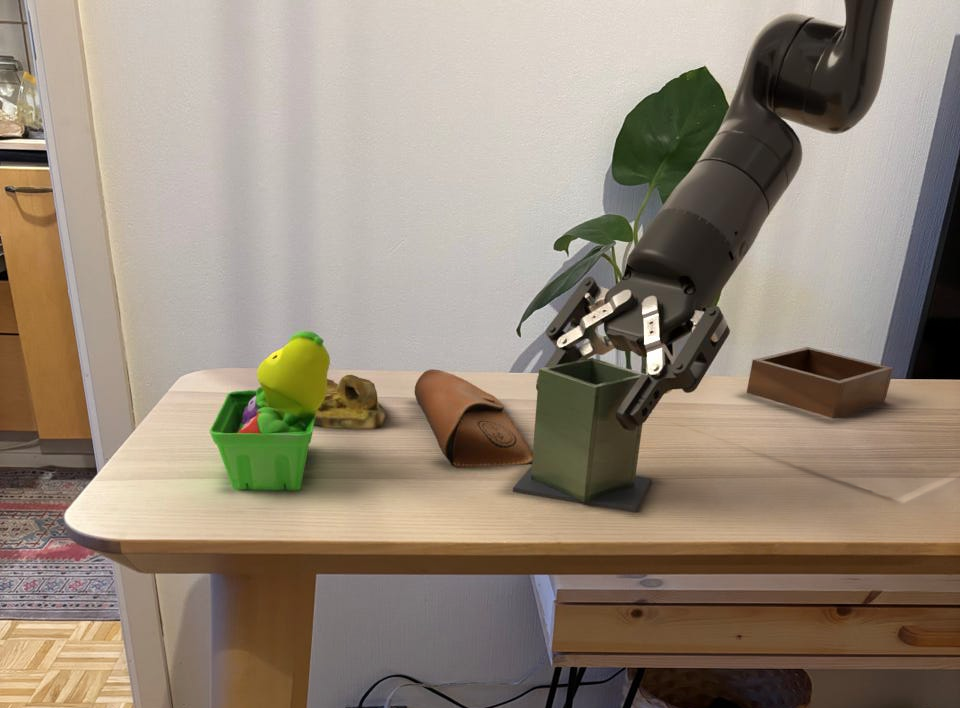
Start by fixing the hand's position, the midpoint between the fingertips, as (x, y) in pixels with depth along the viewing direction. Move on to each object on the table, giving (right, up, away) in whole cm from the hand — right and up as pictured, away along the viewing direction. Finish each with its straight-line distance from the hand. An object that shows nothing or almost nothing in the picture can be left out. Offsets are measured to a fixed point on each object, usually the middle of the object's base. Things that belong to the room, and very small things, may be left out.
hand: (582, 409), depth 74 cm
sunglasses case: (-9, +1, +15) cm, 17 cm away
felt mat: (+1, -6, +4) cm, 7 cm away
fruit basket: (-24, -4, +5) cm, 25 cm away
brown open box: (+28, +8, +29) cm, 41 cm away
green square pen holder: (0, -5, +4) cm, 6 cm away
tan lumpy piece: (-23, +4, +19) cm, 30 cm away
